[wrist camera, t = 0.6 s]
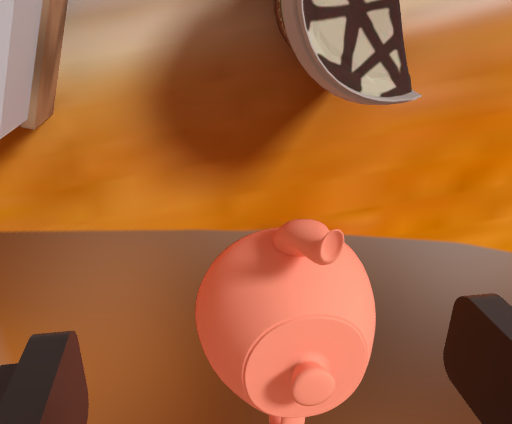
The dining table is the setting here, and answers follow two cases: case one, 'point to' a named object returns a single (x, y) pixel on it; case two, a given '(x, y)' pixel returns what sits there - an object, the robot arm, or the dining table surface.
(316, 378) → the teapot
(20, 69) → the top slab
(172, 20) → the dining table surface
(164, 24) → the dining table surface
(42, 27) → the bottom slab
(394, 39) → the food container
